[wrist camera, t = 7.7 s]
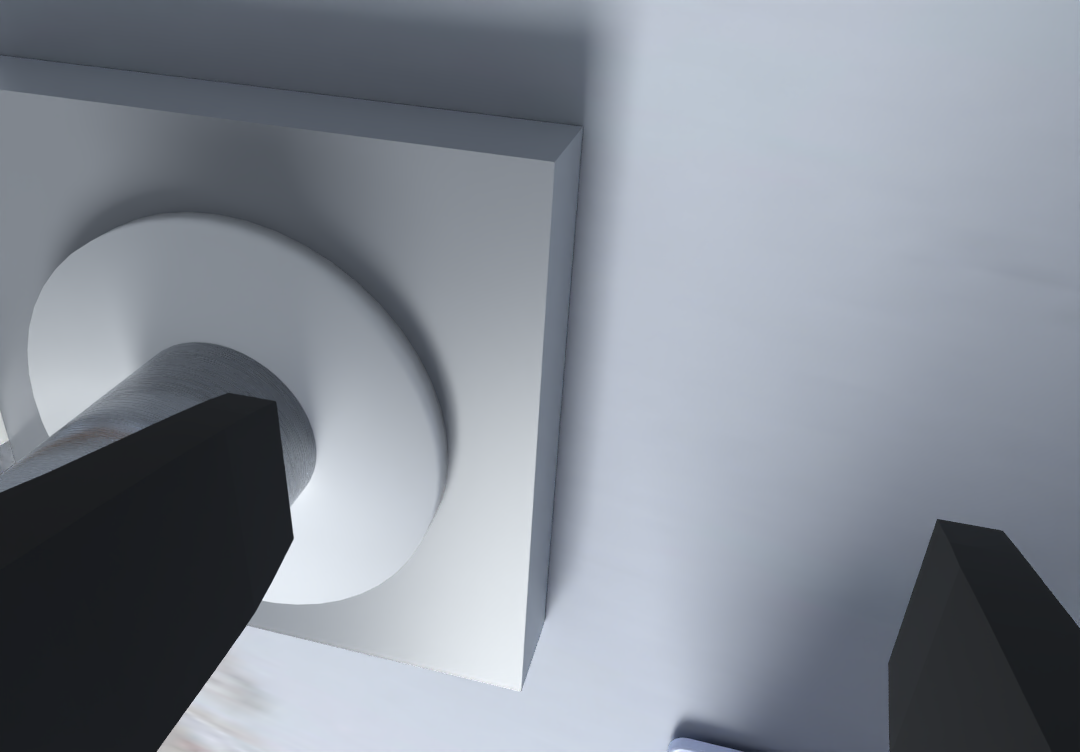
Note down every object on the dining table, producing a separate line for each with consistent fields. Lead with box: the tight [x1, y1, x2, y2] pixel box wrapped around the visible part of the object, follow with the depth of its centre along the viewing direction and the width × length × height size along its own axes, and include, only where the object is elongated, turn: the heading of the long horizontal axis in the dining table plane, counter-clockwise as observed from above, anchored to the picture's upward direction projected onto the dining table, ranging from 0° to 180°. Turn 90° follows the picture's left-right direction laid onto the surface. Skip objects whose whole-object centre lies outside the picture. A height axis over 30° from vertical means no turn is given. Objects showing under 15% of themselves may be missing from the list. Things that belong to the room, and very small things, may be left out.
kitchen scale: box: [0, 55, 583, 692], centre depth 21 cm, size 14×15×5 cm
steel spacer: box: [0, 342, 316, 507], centre depth 18 cm, size 4×4×6 cm
